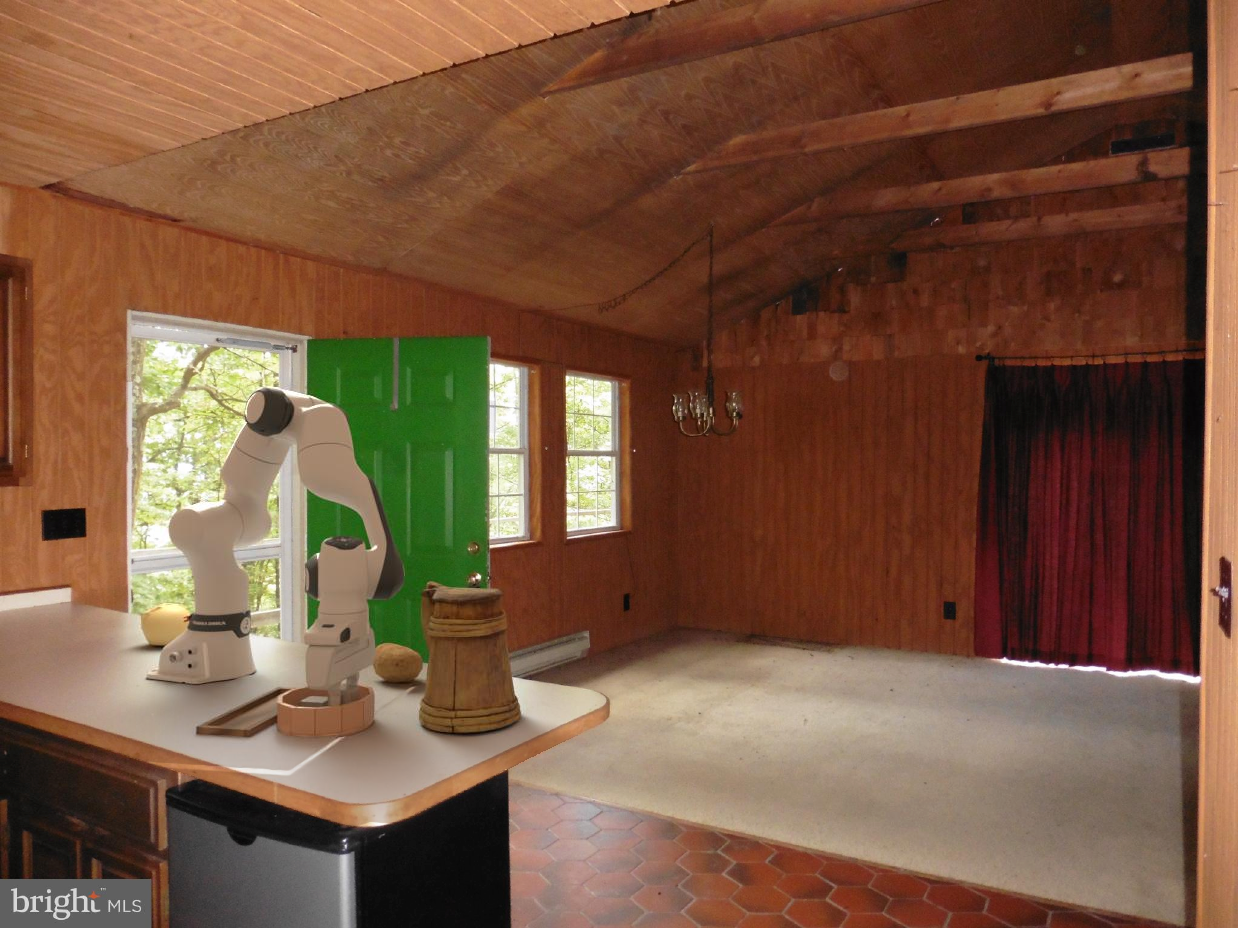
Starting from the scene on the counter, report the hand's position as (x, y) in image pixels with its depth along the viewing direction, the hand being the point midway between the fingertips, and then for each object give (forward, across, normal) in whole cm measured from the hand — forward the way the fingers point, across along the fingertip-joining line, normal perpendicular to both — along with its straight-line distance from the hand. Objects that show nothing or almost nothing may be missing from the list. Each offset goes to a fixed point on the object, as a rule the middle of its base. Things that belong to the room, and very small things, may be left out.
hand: (343, 701), depth 151 cm
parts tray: (+4, -3, -17) cm, 18 cm away
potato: (+5, -30, -2) cm, 30 cm away
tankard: (+5, -8, +20) cm, 22 cm away
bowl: (+4, 0, -3) cm, 5 cm away
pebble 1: (+3, 0, -5) cm, 6 cm away
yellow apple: (+4, -55, -76) cm, 94 cm away
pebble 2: (+1, 0, 0) cm, 1 cm away
